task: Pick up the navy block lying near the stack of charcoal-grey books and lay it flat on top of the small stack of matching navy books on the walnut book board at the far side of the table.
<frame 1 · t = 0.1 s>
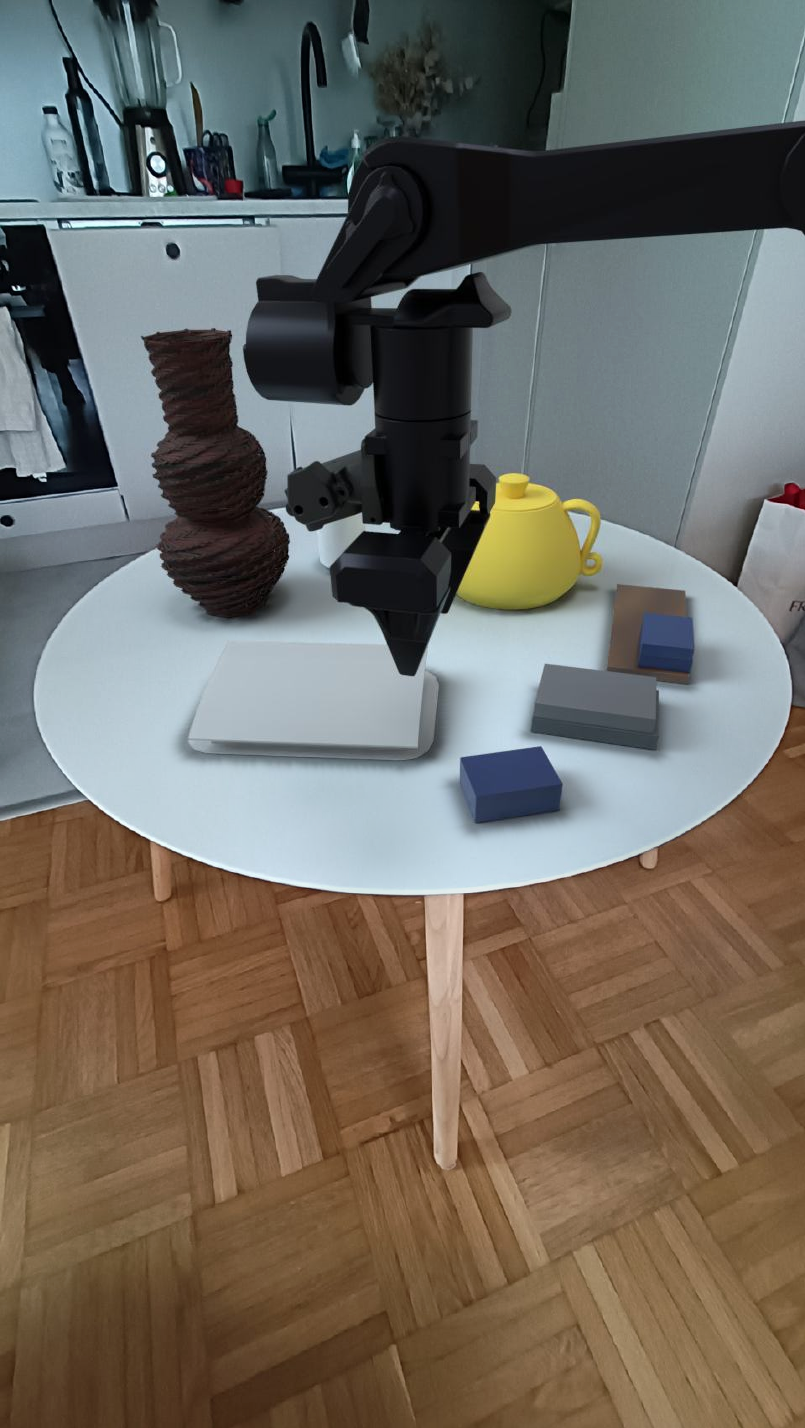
hand: (425, 641, 51), 14 cm above the table, tool pointing down, fingers open, 9 cm apart
teapot: (499, 584, 92), on the table
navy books: (661, 661, 75), resting on book board
can: (344, 563, 99), on the table
book: (319, 710, 70), on the table
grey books: (594, 717, 68), on the table
navy block: (508, 796, 59), on the table
book board: (648, 632, 80), on the table
vase: (235, 604, 90), on the table
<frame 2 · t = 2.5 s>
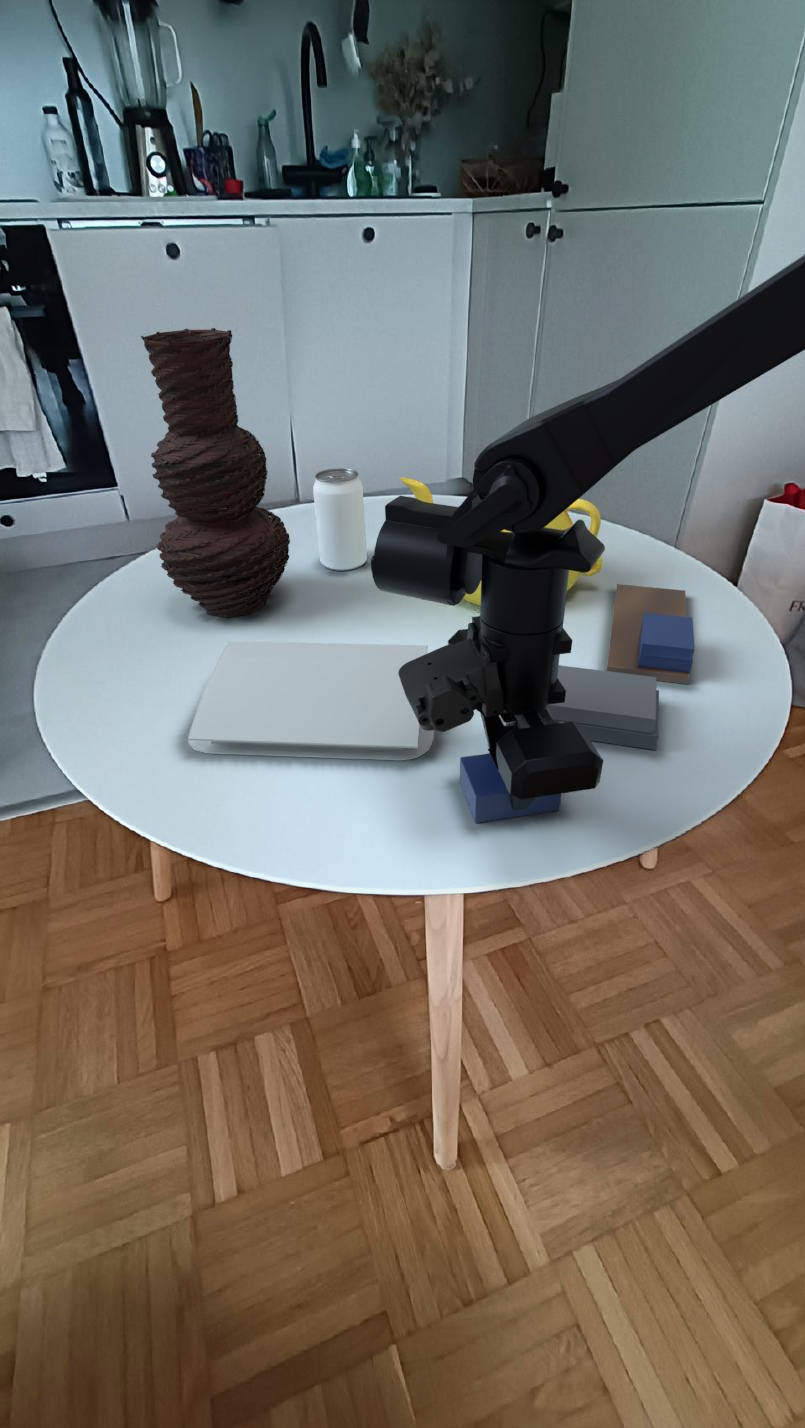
hand: (508, 786, 58), 1 cm above the table, tool pointing down, fingers closed on navy block, 5 cm apart
navy block: (508, 796, 59), on the table, touching gripper
everything else where it was.
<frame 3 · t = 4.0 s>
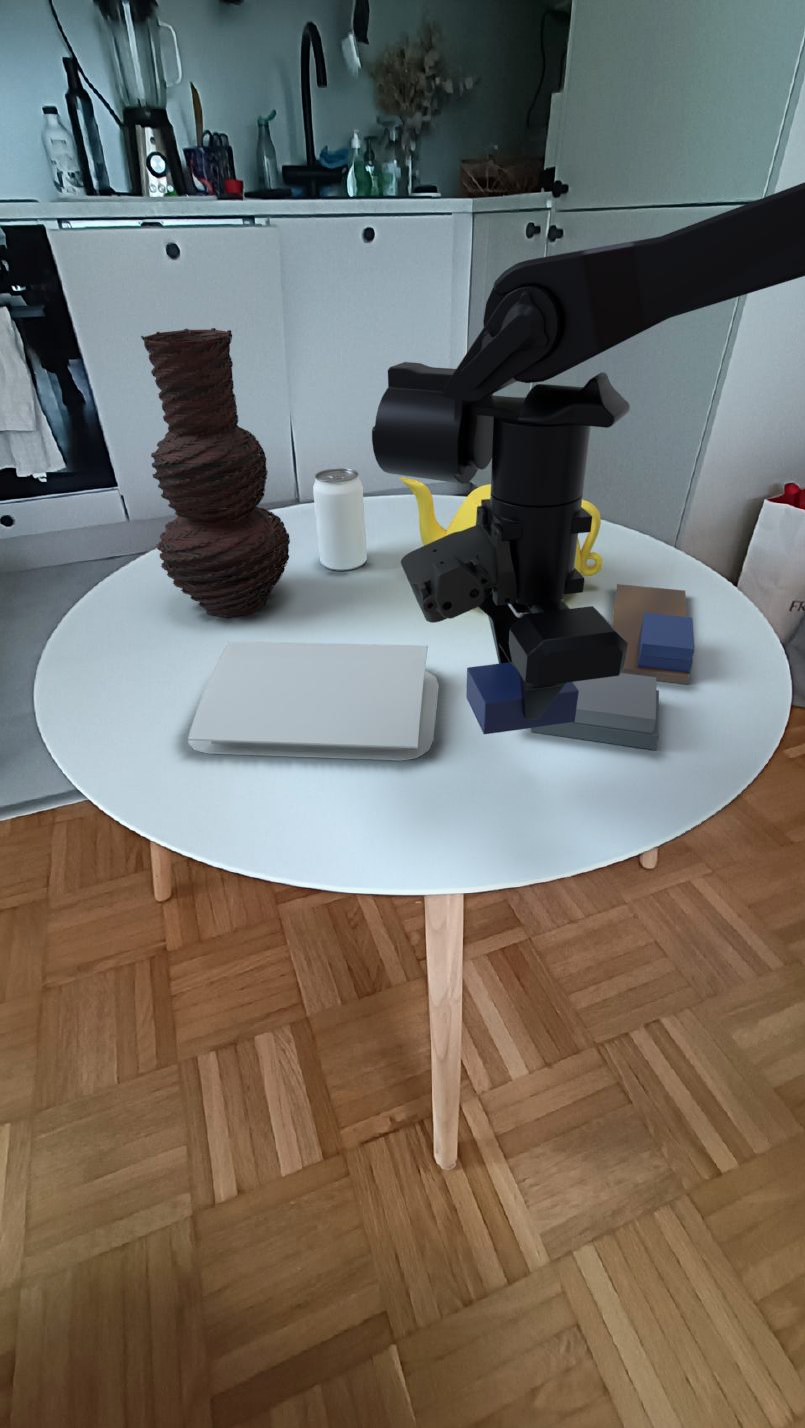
hand: (520, 698, 54), 9 cm above the table, tool pointing down, fingers closed on navy block, 5 cm apart
navy block: (519, 709, 55), point 8 cm above the table, touching gripper
everything else where it was.
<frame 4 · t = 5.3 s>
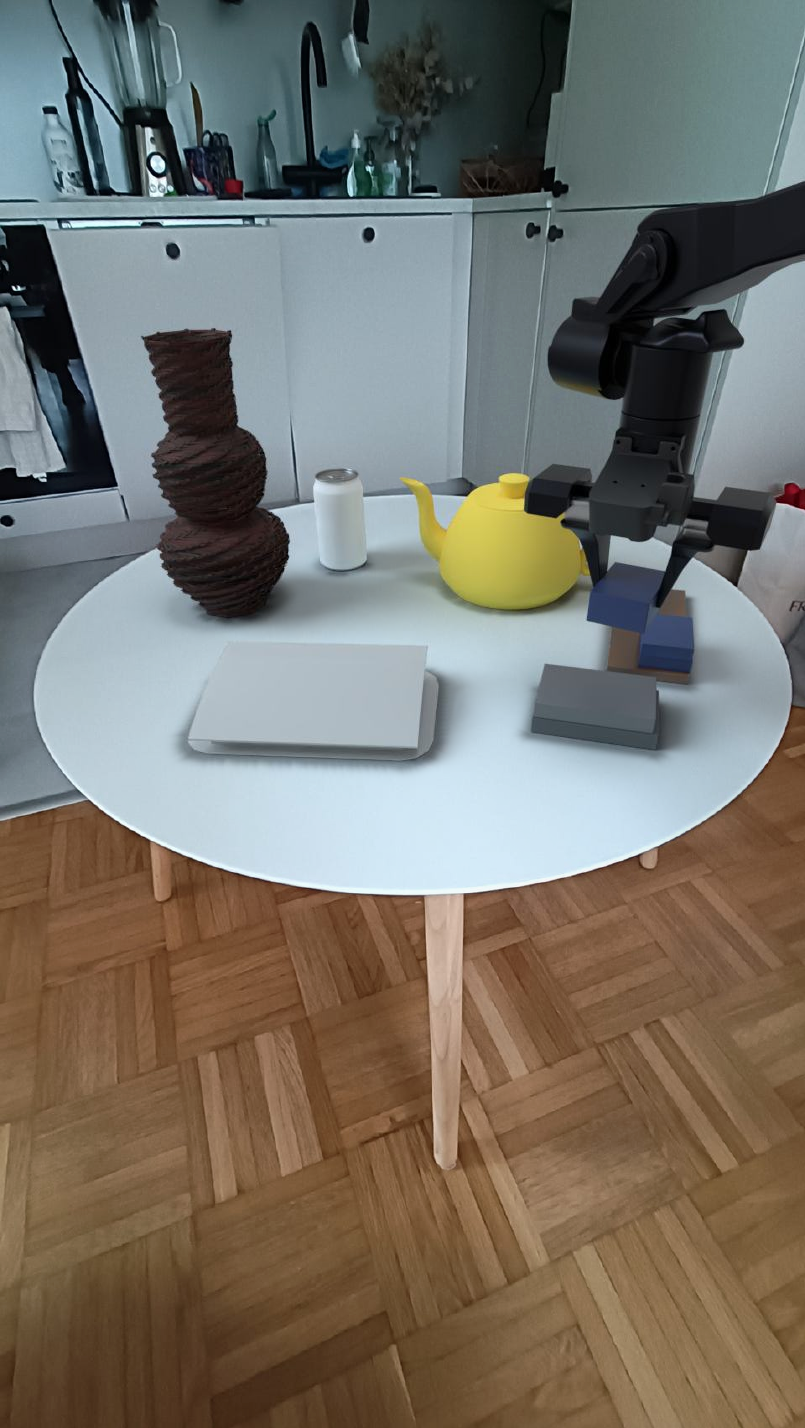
hand: (628, 599, 63), 11 cm above the table, tool pointing down, fingers closed on navy block, 5 cm apart
navy block: (626, 610, 63), point 10 cm above the table, touching gripper
everything else where it was.
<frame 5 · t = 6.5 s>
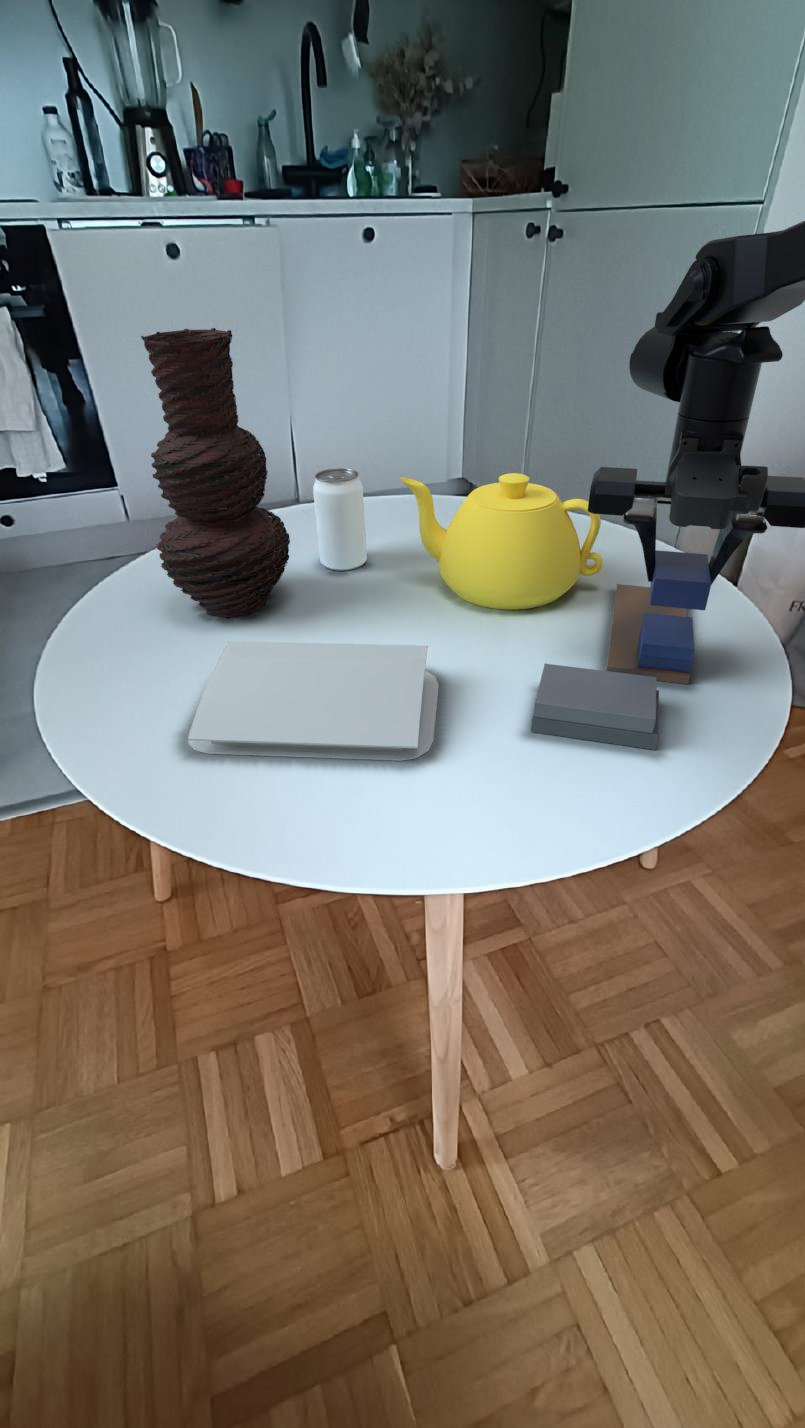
hand: (678, 582, 70), 9 cm above the table, tool pointing down, fingers closed on navy block, 5 cm apart
navy block: (676, 592, 71), point 8 cm above the table, touching gripper
everything else where it was.
when the fingers open (5 cm above the table, at t = 7.9 s): navy block stays where it is, resting on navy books.
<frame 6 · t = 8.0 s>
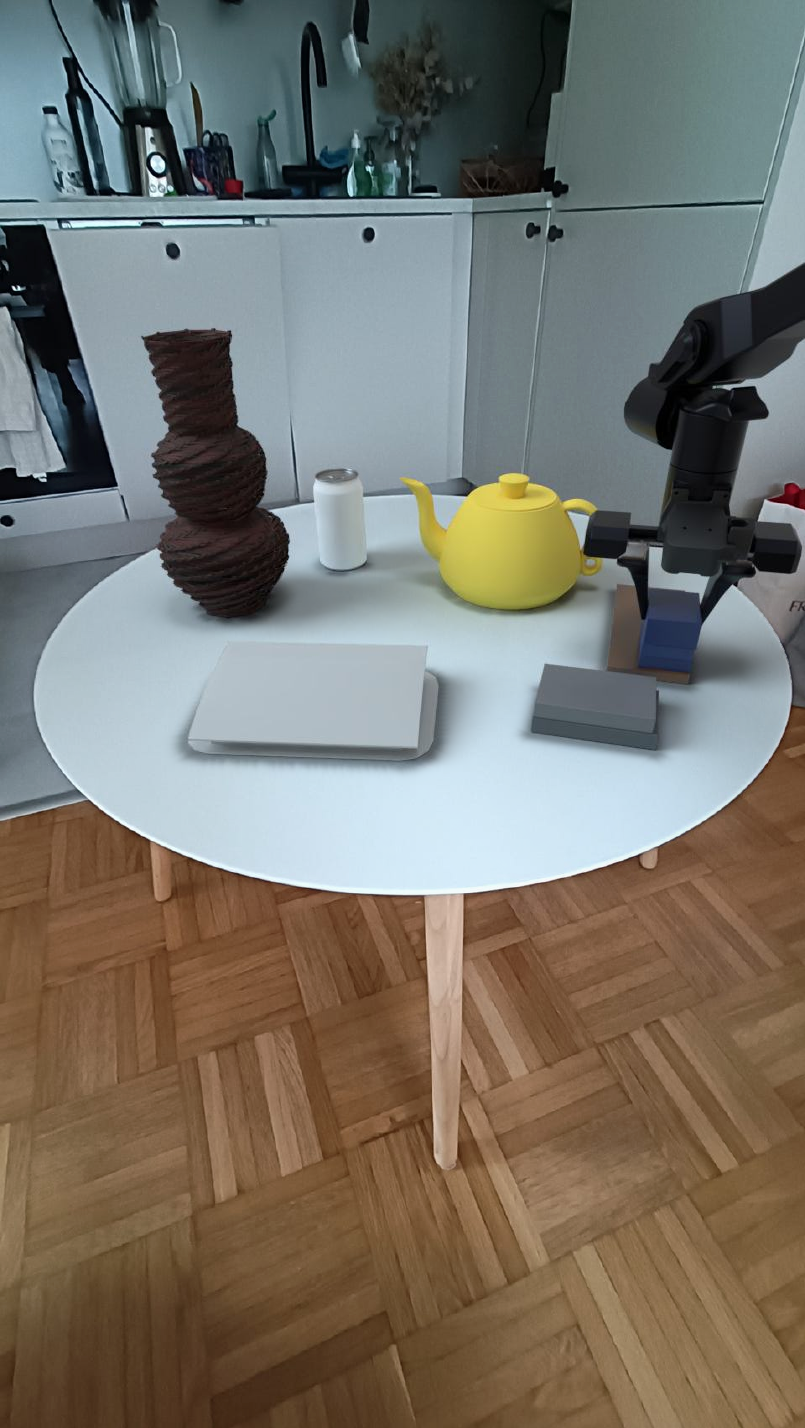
hand: (670, 621, 73), 5 cm above the table, tool pointing down, fingers open, 5 cm apart
navy block: (669, 629, 73), point 4 cm above the table, touching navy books
everything else where it was.
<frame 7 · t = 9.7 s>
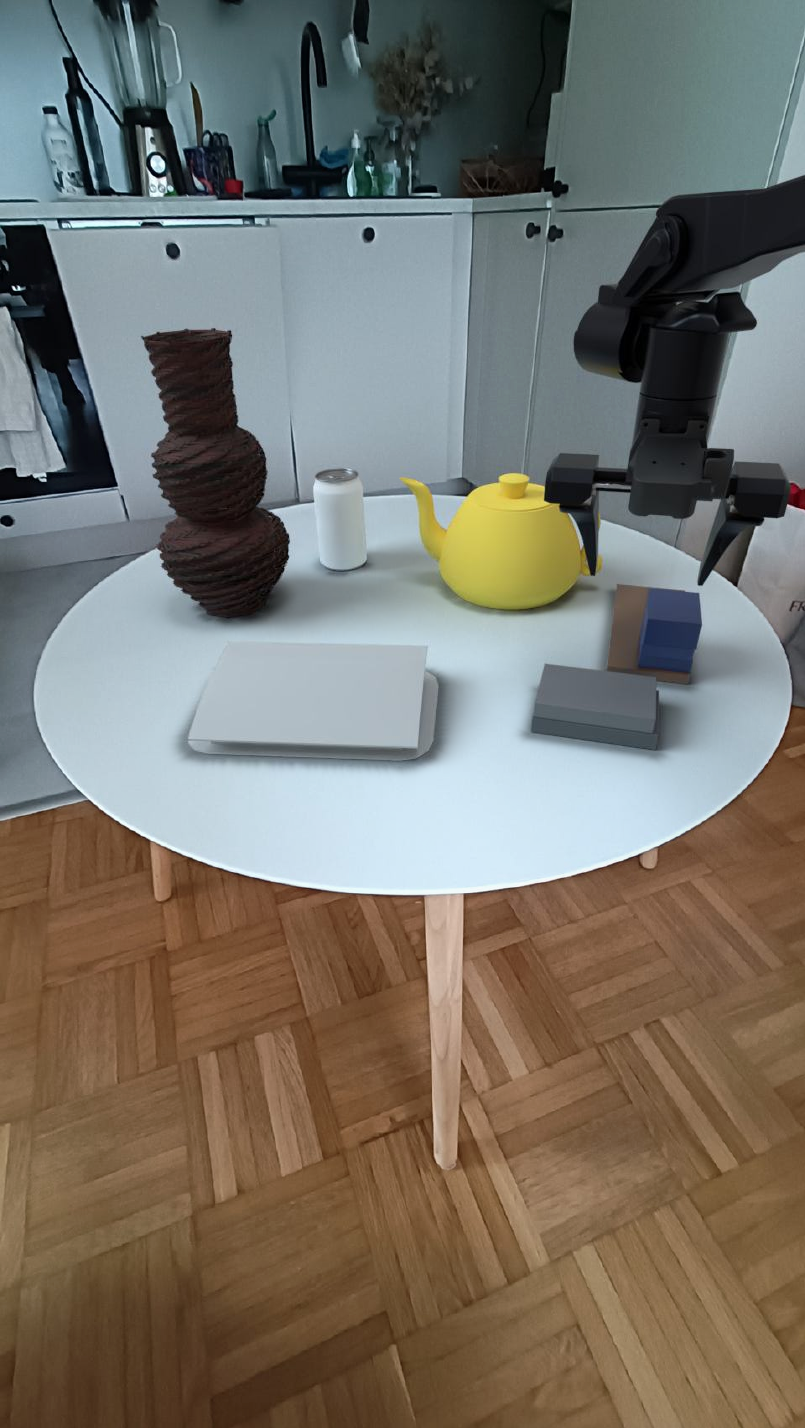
hand: (645, 579, 65), 12 cm above the table, tool pointing down, fingers open, 9 cm apart
nothing on the table moved.
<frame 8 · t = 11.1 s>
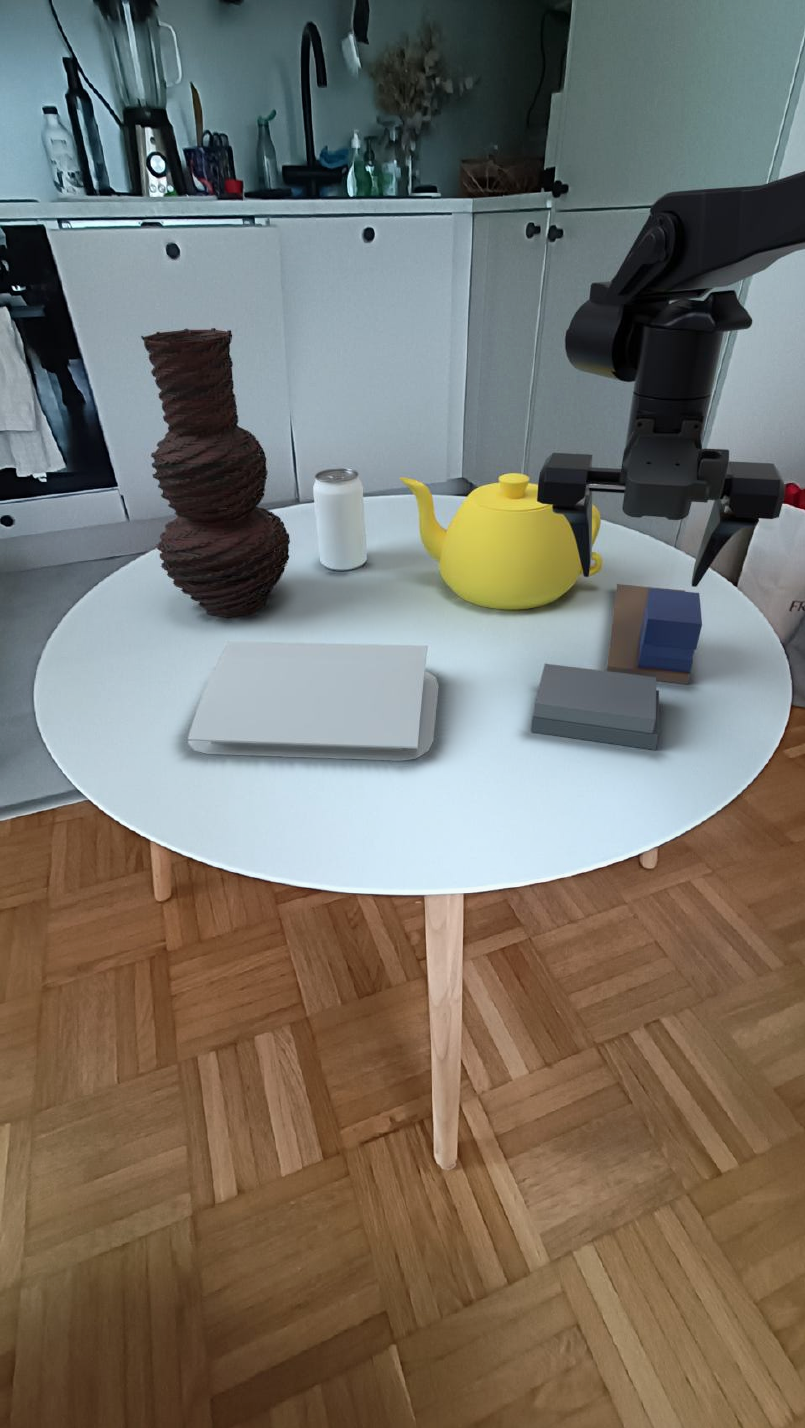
hand: (639, 580, 64), 12 cm above the table, tool pointing down, fingers open, 9 cm apart
nothing on the table moved.
at the end: navy block 0.1 cm from the target spot on the book board, point 3.8 cm above the book board's base; navy block 0.1 cm from the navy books (horizontally); navy block tilted 0° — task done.
